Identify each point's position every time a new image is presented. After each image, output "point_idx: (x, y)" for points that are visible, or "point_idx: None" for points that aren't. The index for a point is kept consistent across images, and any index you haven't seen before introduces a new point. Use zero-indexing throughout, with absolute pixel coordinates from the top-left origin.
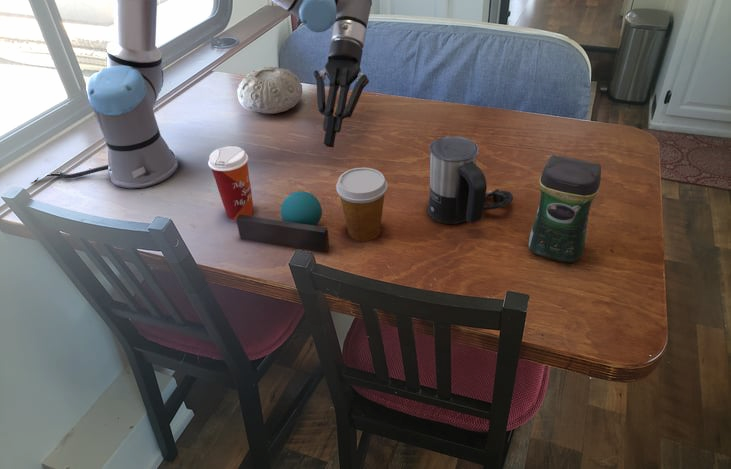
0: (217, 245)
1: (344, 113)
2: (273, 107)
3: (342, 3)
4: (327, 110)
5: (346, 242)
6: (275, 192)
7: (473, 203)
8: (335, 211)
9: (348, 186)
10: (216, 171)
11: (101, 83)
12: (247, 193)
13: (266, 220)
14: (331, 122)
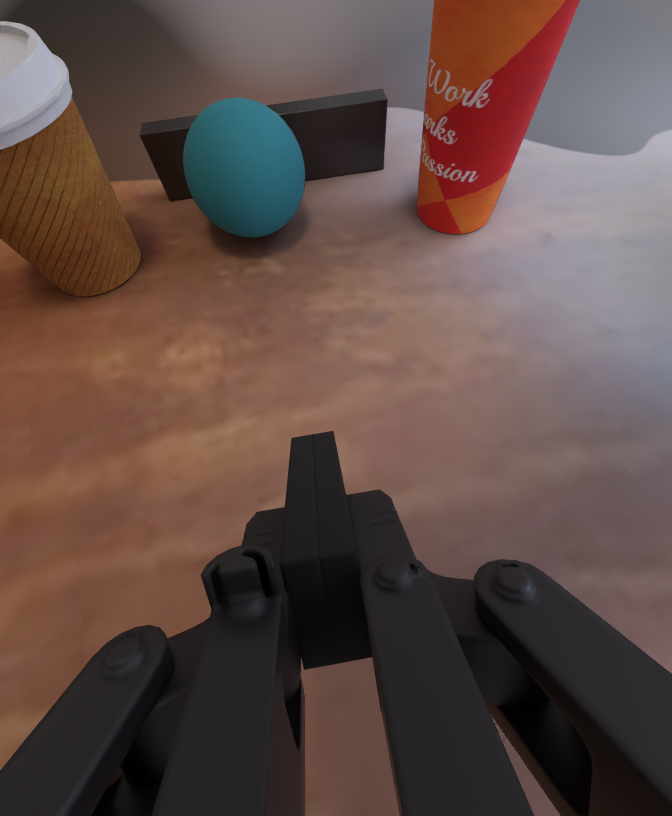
0: (412, 135)
1: (158, 627)
2: None
3: None
4: (402, 596)
5: (135, 225)
6: (432, 304)
7: None
8: (202, 298)
9: (1, 45)
10: None
11: None
12: (423, 126)
13: (305, 106)
14: (308, 514)
